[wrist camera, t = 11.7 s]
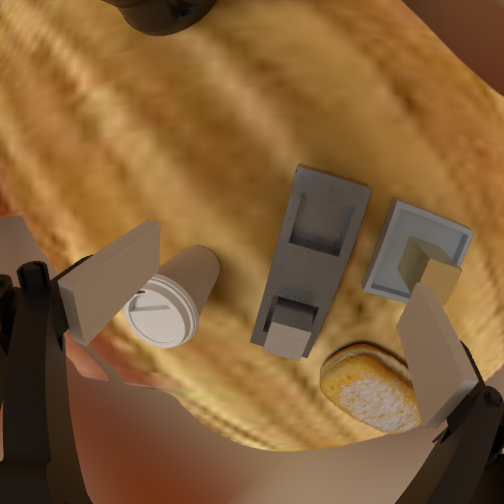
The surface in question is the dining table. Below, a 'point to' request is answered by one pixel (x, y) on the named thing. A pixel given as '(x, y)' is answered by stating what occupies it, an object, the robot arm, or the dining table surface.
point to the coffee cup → (174, 298)
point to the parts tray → (395, 240)
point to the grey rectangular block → (289, 329)
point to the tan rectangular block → (428, 268)
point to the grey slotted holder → (313, 245)
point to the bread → (371, 388)
